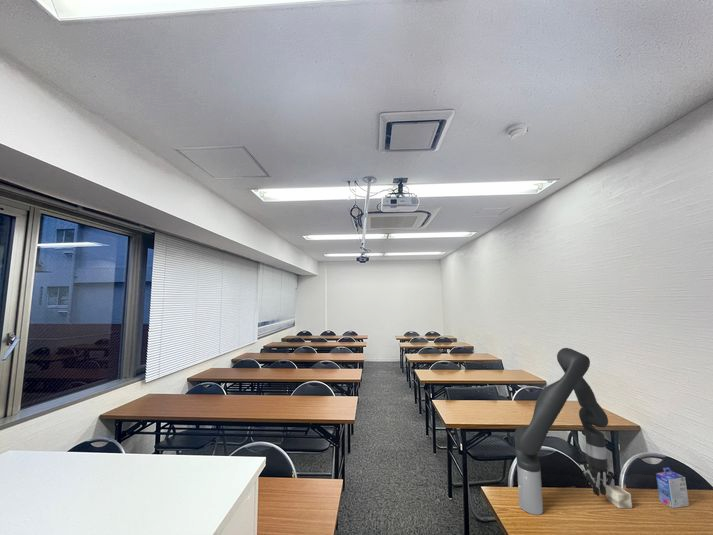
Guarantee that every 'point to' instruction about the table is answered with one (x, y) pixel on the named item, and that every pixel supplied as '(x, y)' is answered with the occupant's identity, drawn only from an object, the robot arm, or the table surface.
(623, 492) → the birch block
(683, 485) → the ink cartridge box
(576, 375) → the robot arm
